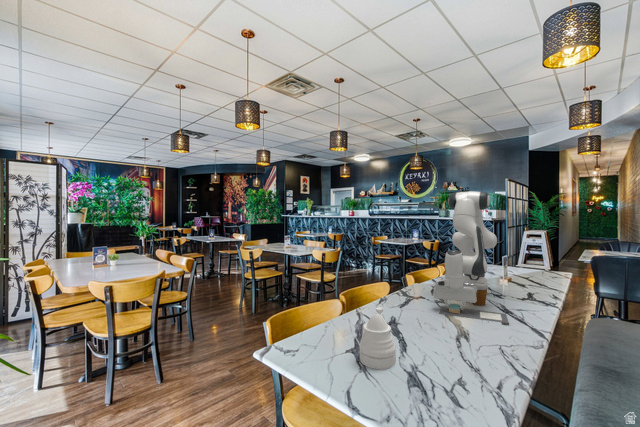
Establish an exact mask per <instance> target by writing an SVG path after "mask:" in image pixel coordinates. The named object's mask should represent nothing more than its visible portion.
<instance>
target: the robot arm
mask: <svg viewBox="0 0 640 427" xmlns="http://www.w3.org/2000/svg"><path fill="white" fill-rule="evenodd" d="M490 197H491V196H490V194H489V193H487V191H473V190H472V191H471V190H469V191H459V192H457V191H454V192H451V193H450V194H449V196H448V198H447V204H448V207H449V208H450V209H451V210H453V215H452V225H453V228H454V230H456V232H454V233H453V235H452V237H451V242H452V244H453V246H455V247H456V248H457V249H459V250H457V249H451V250H448V251H446V253H445V258H444V270H445V275H444V277H441V278H440V277H439V278H438V279H436V281H435V285H434V289H433V298H434V299H436V300H443V303H444V304H445V306H446V308H448V309H449V306H450V304H451V303H448V301H454V302H461V303H462V305H460V310H463V309H464V307H465V306H466V303H471V304H472V303H476V302H477V298H476V292H477V286H476V285H474V284H470V283H471V282H480V283H485V284H487V286H488V287H489V285H488V282H489V281H488V279H487V278H486V277H485V276H486V273H487V271H488V262H487V259H486V251H485V250H487V249H488V250H489V249H494V248H495V247H496V246H497V243H498V238H497V236H496V234H495V233H494V232H491V230H489V228H487V227H486V226H485V224H484V218H483V210H486V209H488V208H489V206H490V204H491V198H490ZM487 294H492V291H491V290H490V289H489V288H488V289H487Z"/></svg>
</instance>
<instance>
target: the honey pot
mask: <svg viewBox="0 0 640 427" xmlns="http://www.w3.org/2000/svg"><path fill="white" fill-rule="evenodd" d="M375 310H376V313H373V314H372V315H371V316H370V318H369V319H368V321H367V322H366V323H364V324H363V325H362V328H363V330H364V332H363V333H362V337H361V340H360V343H359V361H360V362H361V364H362V365H364V366H366V367H367V368H371V369H376V370H385V369H391V368H393V367H394V366H395V365H397V364H396V363H397V352H396V351H397V347H396V346H397V345H396V344H395V341H394V337H393V334H392V333H391V331H392V326H391V325H389V324H388V323H387V322H386V320H385V318H384V317H383V316H382V313H383V312H384V311H383V310H384V307H380V306H379V307H376V308H375Z"/></svg>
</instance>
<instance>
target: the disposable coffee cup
mask: <svg viewBox="0 0 640 427" xmlns="http://www.w3.org/2000/svg"><path fill="white" fill-rule="evenodd" d="M470 284H474V285H476V286H477V292H476V298H477V302H476V303H471V304H472V305H474V306H480V307H484V306H485V305H486V303H487V302H486V300H487V289H489V285H488V286H487V284H485V283H480V282H471V283H470Z"/></svg>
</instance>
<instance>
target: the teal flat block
mask: <svg viewBox="0 0 640 427" xmlns="http://www.w3.org/2000/svg"><path fill="white" fill-rule="evenodd" d="M449 304H450V306H449V312H451V313H458V314H460V306H461V304H456V303H449Z"/></svg>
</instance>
